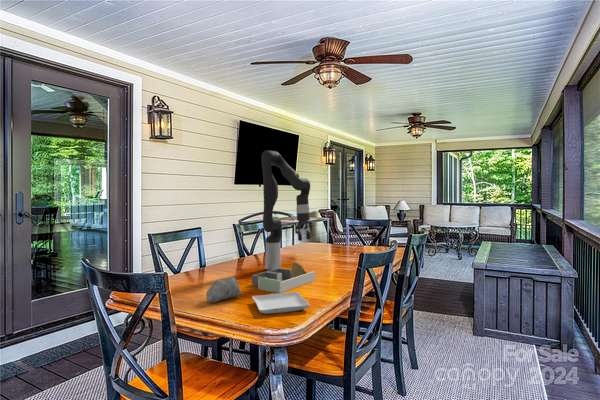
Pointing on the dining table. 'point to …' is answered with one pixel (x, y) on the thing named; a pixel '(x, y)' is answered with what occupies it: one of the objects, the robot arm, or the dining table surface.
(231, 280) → the gray stone
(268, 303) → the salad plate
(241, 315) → the dining table surface
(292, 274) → the rock
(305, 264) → the dining table surface
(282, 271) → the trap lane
